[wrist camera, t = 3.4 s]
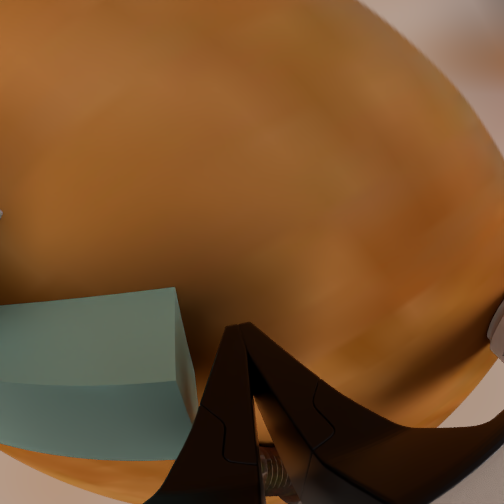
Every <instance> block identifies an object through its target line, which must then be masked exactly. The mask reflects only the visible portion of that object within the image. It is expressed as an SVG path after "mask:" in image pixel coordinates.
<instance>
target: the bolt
mask: <svg viewBox="0 0 504 504" xmlns="http://www.w3.org/2000/svg"><path fill="white" fill-rule="evenodd" d="M259 451H260V459H261V467H262V475H263V483H264V491H265V496H279V497H280V498H281V499H282V500H283V501H285V502H286V503H288V504H302V503H301V499H299V497H298V494H297V492H296V490H295V488H294V486H293V484H292V482H291V480H290V478H289V476H288V473H287V471H286V469H285V467H284V465H283V463H282V460H281V458H280V456H279V454H278V452H277V449H276V448H269V447H260V446H259Z"/></svg>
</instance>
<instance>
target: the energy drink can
mask: <svg viewBox="0 0 504 504" xmlns="http://www.w3.org/2000/svg"><path fill="white" fill-rule="evenodd" d="M487 337H488V339H489V340H490V350H491V351H492V352H493V353H494V354H495V355H496V356H497V357H498V358H499V359H501V361H502V362H503V363H504V300H503V302H502V303H501V305H500V306H499V308H498V309H497V311H496V313H495V315H494V317H493V319H492V321H491V323H490V325H489V328H488V332H487Z"/></svg>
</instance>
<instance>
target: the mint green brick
mask: <svg viewBox="0 0 504 504" xmlns="http://www.w3.org/2000/svg"><path fill="white" fill-rule="evenodd" d="M198 408H199V407H198V399H197V391H196V382H195V372H194V368H193V364H192V360H191V356H190V352H189V348H188V344H187V340H186V336H185V331H184V327H183V323H182V318H181V314H180V309H179V304H178V299H177V294H176V290H175V287H170V288H162V289H154V290H146V291H137V292H129V293H120V294H112V295H103V296H94V297H84V298H75V299H65V300H55V301H45V302H34V303H23V304H12V305H0V443H1V444H4V445H8V446H12V447H17V448H21V449H26V450H30V451H36V452H41V453H47V454H53V455H60V456H67V457H76V458H86V459H99V460H120V461H152V460H174V459H177V457H178V455H179V453H180V451H181V449H182V447H183V445H184V443H185V441H186V439H187V437H188V435H189V432H190V430H191V428H192V425H193V422H194V420H195V417H196V414H197V411H198Z"/></svg>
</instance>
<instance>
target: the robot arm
mask: <svg viewBox="0 0 504 504" xmlns="http://www.w3.org/2000/svg"><path fill="white" fill-rule="evenodd" d="M253 396H254V398H255V401H256V403H257V406H258V408H259V410H260V413H261V415H262V417H263V420H264V422H265V424H266V427H267V429H268V431H269V434H270V436H271V438H272V440H273V443H274V445H275V447H276V449H277V452H278V454H279V456H280V458H281V460H282V463H283V465H284V467H285V469H286V471H287V473H288V476H289V478H290V480H291V482H292V484H293V486H294V488H295V490H296V492H297V494H298V497H299V499H301V503H302V504H504V410H503V411H502V412H500V413H499V414H498V415H497V416H496V417H495V418H494V419H492V420H491V421H489V422H487V423H484V424H481V425H477V426H471V427H457V428H456V427H454V428H411V427H405V426H402V425H399V424H396V423H394V422H391V421H389V420H387V419H386V418H384V417H382V416H380V415H378V414H376V413H374V412H372V411H370V410H369V409H367V408H365V407H363V406H361V405H359V404H358V403H356V402H354V401H353V400H351V399H349V398H348V397H346V396H344V395H343V394H341V393H340V392H338V391H337V390H335V389H334V388H333V387H331V386H330V385H328V384H327V383H326V382H325V381H323V380H322V379H320V378H319V377H318V376H317V375H315V374H314V373H313V372H312V371H310V370H309V369H308V368H306V367H305V366H304V365H303V364H301V363H300V362H299V361H298V360H296V359H295V358H294V357H293V356H291V355H290V354H289V353H288V352H286V351H285V350H284V349H283V348H281V347H280V346H279V345H278V344H276V343H275V342H274V341H273V340H272V339H270V338H269V337H268V336H267V335H265V334H264V333H263V332H262V331H261V330H259V329H258V328H257V327H256V326H255V325H253V324H252V323H251V322H246V323H240V324H235V325H230V326H226V327H225V329H224V333H223V336H222V339H221V342H220V345H219V348H218V351H217V354H216V357H215V360H214V363H213V366H212V369H211V372H210V375H209V378H208V381H207V384H206V387H205V390H204V393H203V396H202V399H201V402H200V406H199V408H198V411H197V414H196V417H195V420H194V422H193V425H192V428H191V430H190V432H189V435H188V437H187V439H186V441H185V443H184V445H183V447H182V449H181V451H180V453H179V455H178V457H177V459H176V461H175V462H174V464H173V466H172V468H171V470H170V472H169V474H168V476H167V478H166V479H165V481H164V483H163V484H162V486H161V487H160V489H159V490H158V491H157V492H156V493H155V494H154V495H153V496H152V497H151V498H150V499H148V500H147V501H146V502H144V503H143V504H266V499H265V491H264V483H263V475H262V467H261V459H260V451H259V442H258V434H257V425H256V416H255V408H254V399H253Z"/></svg>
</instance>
